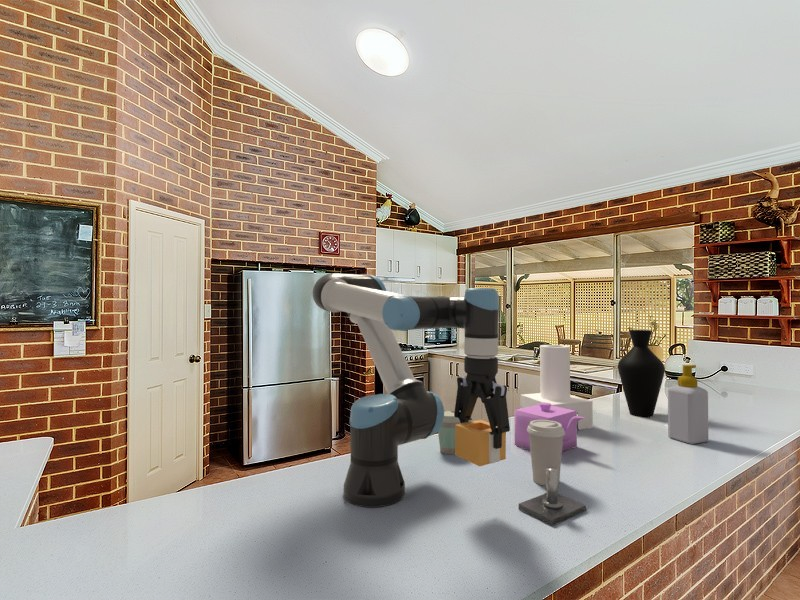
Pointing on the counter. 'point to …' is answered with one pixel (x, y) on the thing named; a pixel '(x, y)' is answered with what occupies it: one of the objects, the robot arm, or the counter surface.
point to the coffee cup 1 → (448, 432)
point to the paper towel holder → (558, 385)
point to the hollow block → (475, 442)
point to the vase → (641, 375)
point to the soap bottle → (688, 409)
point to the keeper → (552, 503)
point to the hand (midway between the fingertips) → (480, 455)
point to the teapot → (546, 413)
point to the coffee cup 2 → (545, 448)
